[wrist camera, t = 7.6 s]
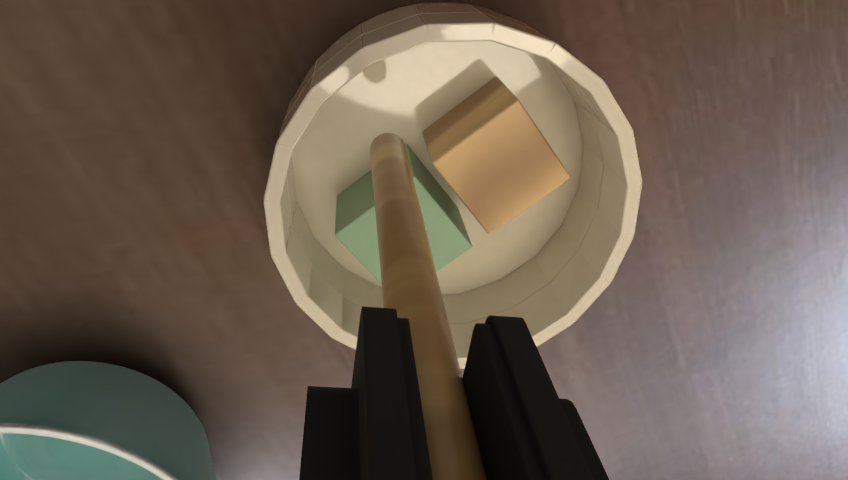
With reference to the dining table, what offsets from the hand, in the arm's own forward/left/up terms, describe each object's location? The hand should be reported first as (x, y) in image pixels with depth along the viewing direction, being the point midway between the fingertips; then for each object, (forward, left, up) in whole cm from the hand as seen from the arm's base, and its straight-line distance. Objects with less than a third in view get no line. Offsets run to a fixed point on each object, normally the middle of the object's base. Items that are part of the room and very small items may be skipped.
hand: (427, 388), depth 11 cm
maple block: (+4, +3, -19) cm, 19 cm away
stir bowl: (+4, 0, -19) cm, 20 cm away
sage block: (+4, -2, -19) cm, 19 cm away
